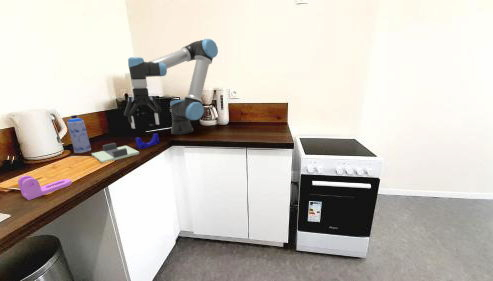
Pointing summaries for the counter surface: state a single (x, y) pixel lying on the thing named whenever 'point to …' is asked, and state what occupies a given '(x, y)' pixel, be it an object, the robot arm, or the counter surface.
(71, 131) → the aerosol can
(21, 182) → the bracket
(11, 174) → the counter surface
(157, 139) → the cable clip
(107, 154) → the board
